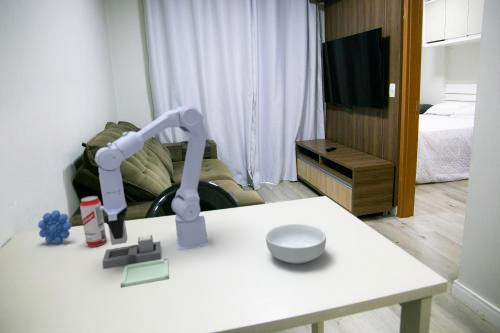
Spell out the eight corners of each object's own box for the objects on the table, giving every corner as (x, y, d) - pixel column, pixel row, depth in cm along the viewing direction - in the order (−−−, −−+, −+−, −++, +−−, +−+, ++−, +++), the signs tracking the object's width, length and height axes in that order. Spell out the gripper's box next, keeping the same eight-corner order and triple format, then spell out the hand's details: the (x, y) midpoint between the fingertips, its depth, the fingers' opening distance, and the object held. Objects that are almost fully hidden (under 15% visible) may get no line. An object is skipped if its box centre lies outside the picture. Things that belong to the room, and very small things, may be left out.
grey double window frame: (161, 248, 109) (159, 240, 108) (161, 260, 101) (159, 251, 100) (107, 257, 105) (106, 248, 104) (103, 269, 97) (102, 260, 97)
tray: (168, 262, 100) (167, 258, 99) (169, 280, 90) (168, 275, 90) (125, 269, 97) (124, 265, 97) (121, 288, 87) (120, 284, 87)
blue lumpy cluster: (81, 237, 121) (75, 205, 118) (70, 246, 114) (64, 212, 112) (49, 238, 121) (43, 206, 119) (37, 247, 115) (30, 213, 112)
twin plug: (154, 252, 106) (152, 234, 105) (154, 258, 103) (151, 239, 101) (141, 255, 105) (138, 236, 104) (140, 260, 102) (137, 241, 100)
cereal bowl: (331, 248, 102) (331, 226, 101) (318, 277, 88) (317, 252, 86) (278, 241, 110) (277, 220, 108) (257, 266, 95) (256, 242, 93)
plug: (127, 237, 101) (124, 218, 99) (126, 242, 98) (123, 222, 96) (113, 240, 100) (109, 220, 99) (111, 245, 97) (108, 224, 95)
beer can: (99, 248, 112) (91, 201, 108) (82, 247, 113) (74, 201, 109) (110, 239, 118) (103, 195, 114) (94, 239, 119) (87, 195, 115)
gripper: (101, 185, 101) (107, 228, 104) (92, 199, 88) (100, 248, 91) (126, 182, 103) (132, 224, 106) (121, 196, 89) (128, 244, 92)
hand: (119, 235), depth 98 cm, fingers closed on plug, 3 cm apart
